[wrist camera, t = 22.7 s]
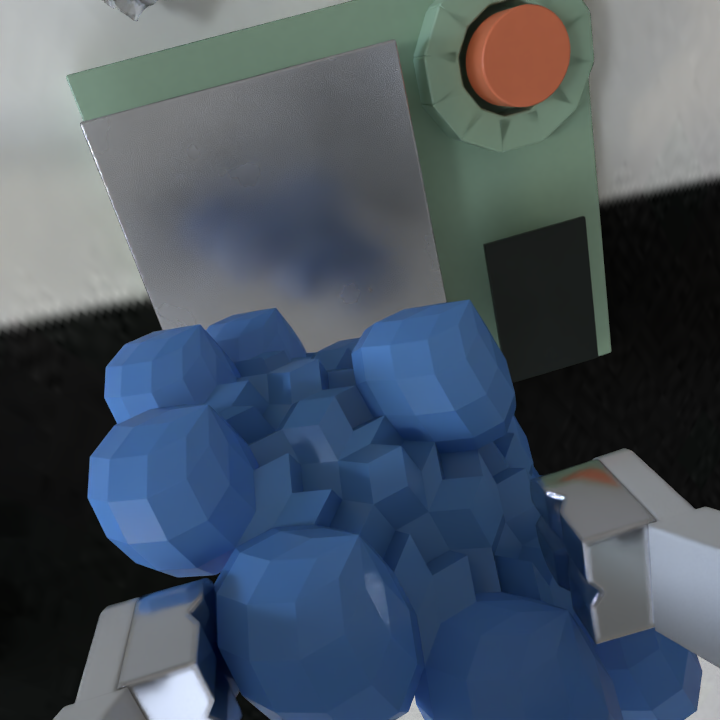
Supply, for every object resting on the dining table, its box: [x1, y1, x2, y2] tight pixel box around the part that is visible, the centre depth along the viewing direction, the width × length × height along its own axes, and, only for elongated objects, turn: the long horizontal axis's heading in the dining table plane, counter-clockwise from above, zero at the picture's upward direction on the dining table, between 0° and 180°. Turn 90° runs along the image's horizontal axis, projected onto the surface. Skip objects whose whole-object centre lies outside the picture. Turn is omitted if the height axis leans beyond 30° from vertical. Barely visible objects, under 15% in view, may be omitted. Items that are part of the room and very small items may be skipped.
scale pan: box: [80, 39, 598, 383], centre depth 23 cm, size 16×14×1 cm
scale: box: [66, 0, 611, 356], centre depth 25 cm, size 18×16×3 cm
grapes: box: [88, 299, 702, 720], centre depth 13 cm, size 12×7×12 cm, turn 70°
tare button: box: [466, 4, 571, 107], centre depth 21 cm, size 3×3×2 cm
